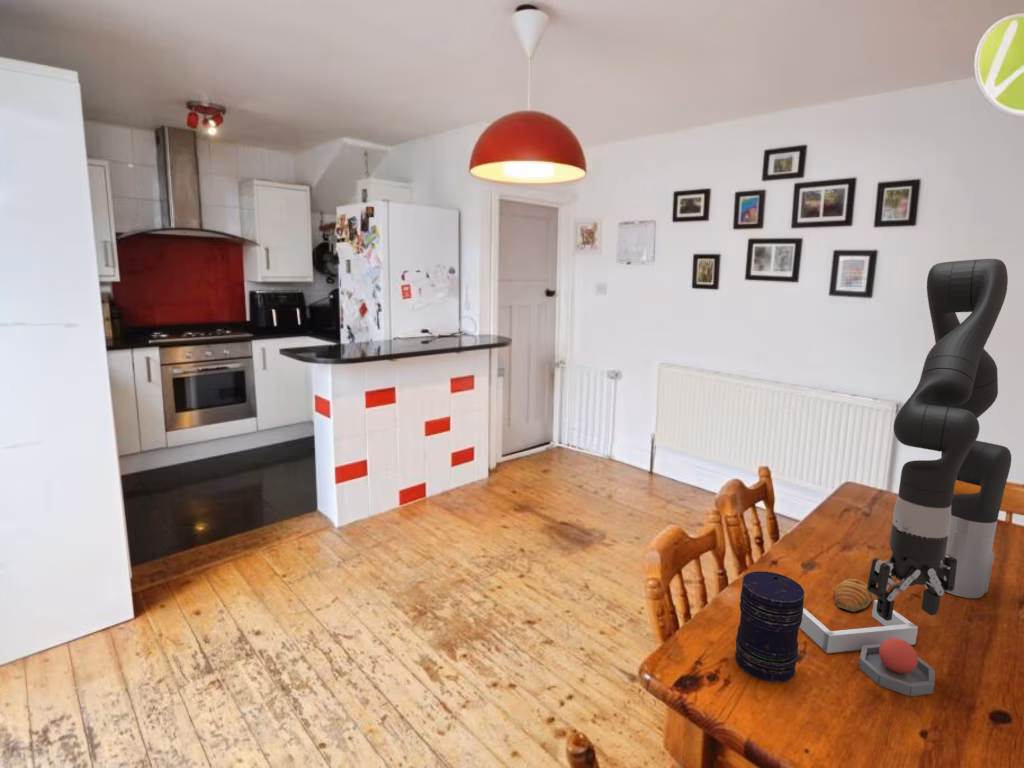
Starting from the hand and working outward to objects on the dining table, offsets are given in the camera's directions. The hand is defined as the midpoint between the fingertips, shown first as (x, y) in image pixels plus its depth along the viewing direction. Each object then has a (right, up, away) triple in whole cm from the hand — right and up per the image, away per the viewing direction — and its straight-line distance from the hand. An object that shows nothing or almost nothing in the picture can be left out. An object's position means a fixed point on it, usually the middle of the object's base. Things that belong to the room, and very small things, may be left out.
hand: (906, 615), depth 96 cm
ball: (0, -10, +2) cm, 10 cm away
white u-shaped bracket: (-1, -9, +13) cm, 16 cm away
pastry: (+5, -7, +24) cm, 25 cm away
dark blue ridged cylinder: (-22, -10, +4) cm, 25 cm away
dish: (-1, -11, +2) cm, 11 cm away
